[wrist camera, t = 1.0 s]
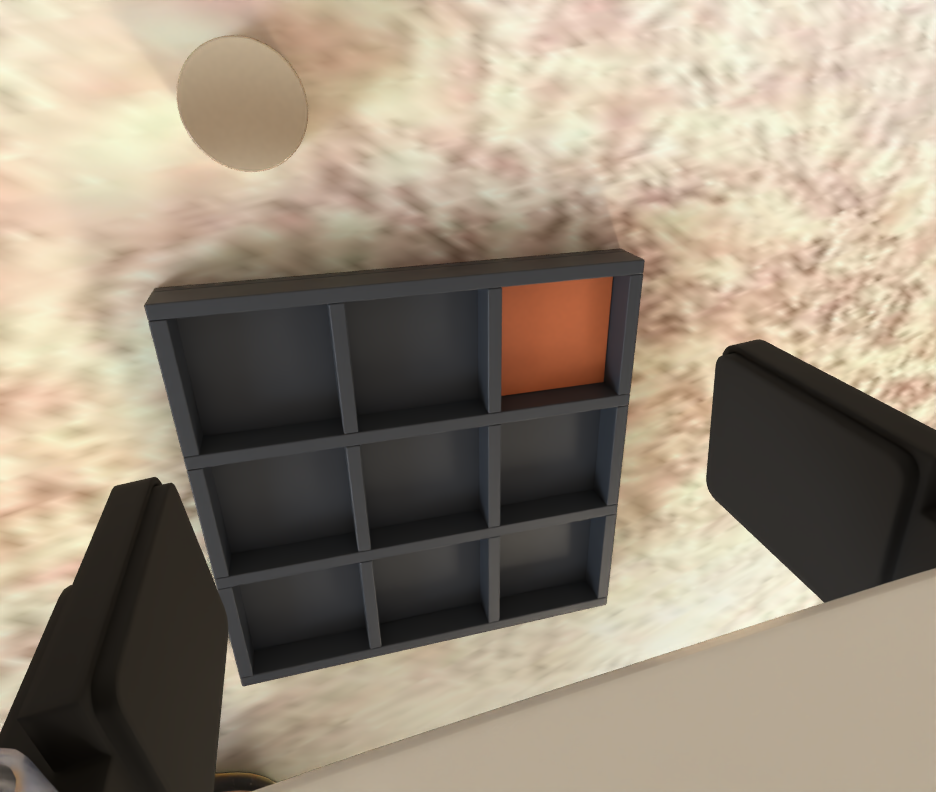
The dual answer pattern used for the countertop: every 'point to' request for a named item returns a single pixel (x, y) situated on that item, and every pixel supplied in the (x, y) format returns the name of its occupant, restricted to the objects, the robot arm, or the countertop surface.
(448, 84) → the countertop surface
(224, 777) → the ceramic bowl
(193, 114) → the cylinder
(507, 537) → the grid
